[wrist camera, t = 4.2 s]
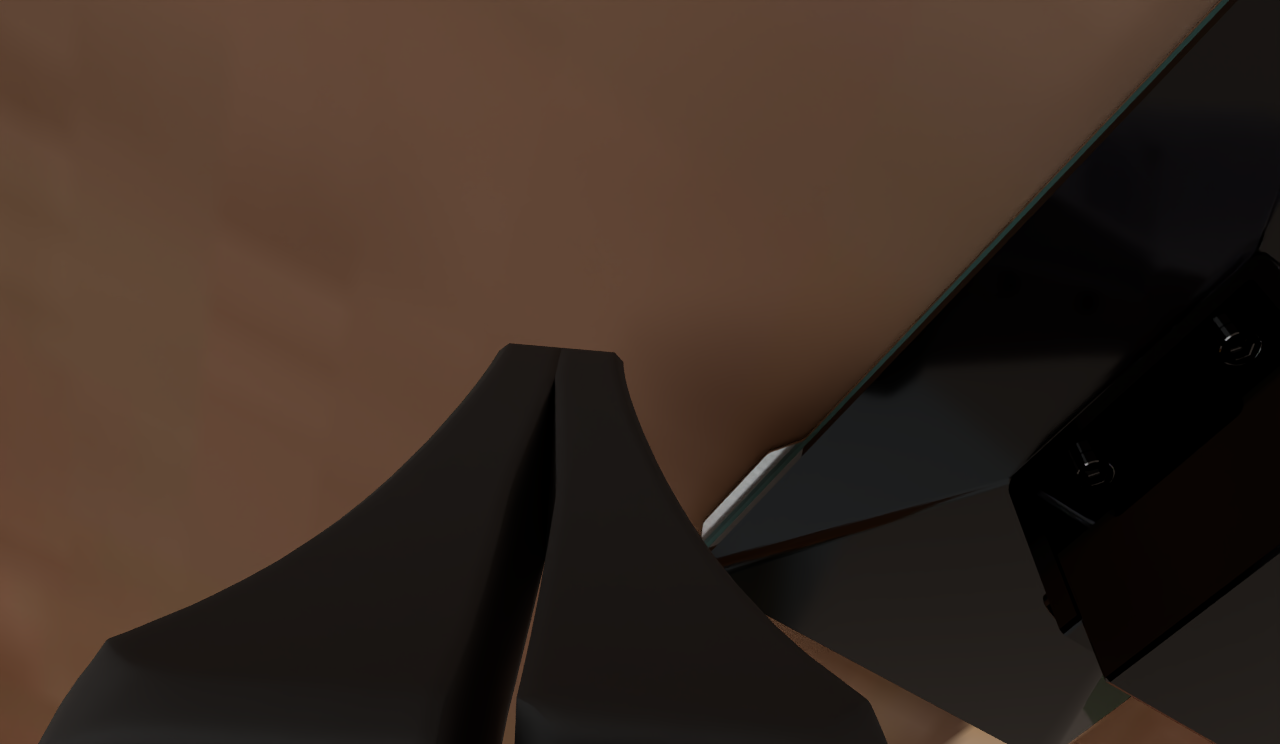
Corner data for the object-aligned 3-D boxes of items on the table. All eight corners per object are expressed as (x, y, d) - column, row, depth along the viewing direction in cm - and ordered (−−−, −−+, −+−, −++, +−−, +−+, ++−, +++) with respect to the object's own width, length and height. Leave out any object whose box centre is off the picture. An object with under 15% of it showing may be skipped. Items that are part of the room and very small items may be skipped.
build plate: (1036, 740, 20) (1120, 1023, 16) (673, 544, 18) (669, 814, 14) (1804, 169, 14) (2237, 395, 10) (1397, -226, 12) (1744, -132, 8)
